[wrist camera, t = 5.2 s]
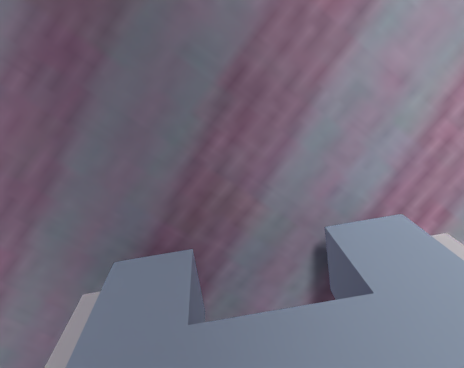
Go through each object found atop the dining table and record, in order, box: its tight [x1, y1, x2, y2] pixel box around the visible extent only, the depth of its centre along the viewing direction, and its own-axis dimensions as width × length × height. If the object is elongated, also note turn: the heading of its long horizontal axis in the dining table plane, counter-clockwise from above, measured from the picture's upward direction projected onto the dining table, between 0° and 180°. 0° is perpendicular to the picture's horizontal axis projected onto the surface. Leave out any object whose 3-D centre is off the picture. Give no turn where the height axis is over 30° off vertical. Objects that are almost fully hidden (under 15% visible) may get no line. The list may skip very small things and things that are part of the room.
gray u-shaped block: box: [66, 214, 464, 368], centre depth 12 cm, size 12×3×10 cm, turn 99°
